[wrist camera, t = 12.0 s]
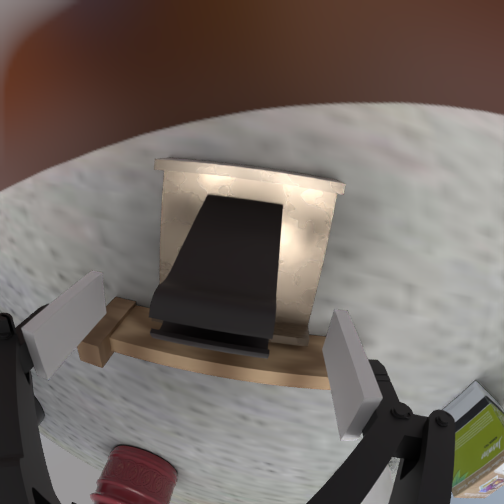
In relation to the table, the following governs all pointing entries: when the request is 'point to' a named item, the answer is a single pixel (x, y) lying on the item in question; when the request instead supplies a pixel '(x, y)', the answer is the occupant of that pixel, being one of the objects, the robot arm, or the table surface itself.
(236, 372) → the door pull handle
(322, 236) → the keeper plate
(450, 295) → the table surface
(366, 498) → the wine bottle
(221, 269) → the phone stand
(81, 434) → the table surface
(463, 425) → the tea box
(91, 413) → the table surface
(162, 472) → the canister
